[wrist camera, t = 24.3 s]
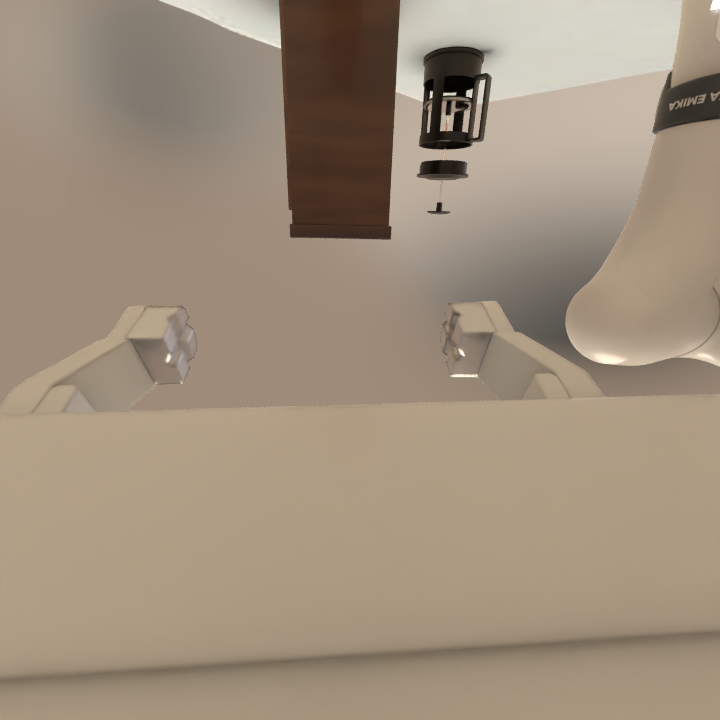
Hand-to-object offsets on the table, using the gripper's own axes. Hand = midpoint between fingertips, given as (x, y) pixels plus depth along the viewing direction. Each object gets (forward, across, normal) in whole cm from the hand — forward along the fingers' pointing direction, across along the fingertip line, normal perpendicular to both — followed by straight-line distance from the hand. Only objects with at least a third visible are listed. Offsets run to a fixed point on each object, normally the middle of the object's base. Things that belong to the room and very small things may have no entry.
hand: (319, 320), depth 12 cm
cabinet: (+49, -2, -9) cm, 50 cm away
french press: (+65, -20, -2) cm, 68 cm away
